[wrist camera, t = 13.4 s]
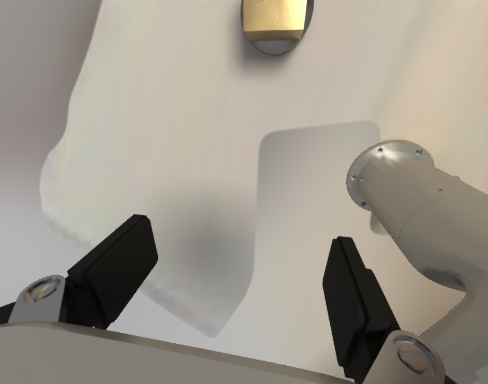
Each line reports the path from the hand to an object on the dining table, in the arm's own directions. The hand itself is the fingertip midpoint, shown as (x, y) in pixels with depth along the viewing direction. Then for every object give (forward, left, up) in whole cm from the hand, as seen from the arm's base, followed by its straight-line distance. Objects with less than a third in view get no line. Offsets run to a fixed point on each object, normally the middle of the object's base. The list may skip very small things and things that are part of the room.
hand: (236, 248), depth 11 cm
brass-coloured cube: (0, -16, -26) cm, 30 cm away
